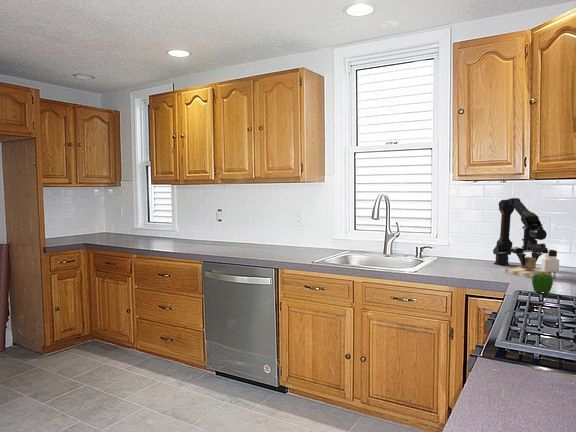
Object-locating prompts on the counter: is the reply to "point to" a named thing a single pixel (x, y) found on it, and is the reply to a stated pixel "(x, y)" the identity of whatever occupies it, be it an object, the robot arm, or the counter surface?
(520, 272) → the birch base
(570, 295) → the counter surface
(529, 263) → the walnut block
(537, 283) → the bell pepper
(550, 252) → the medicine bottle
